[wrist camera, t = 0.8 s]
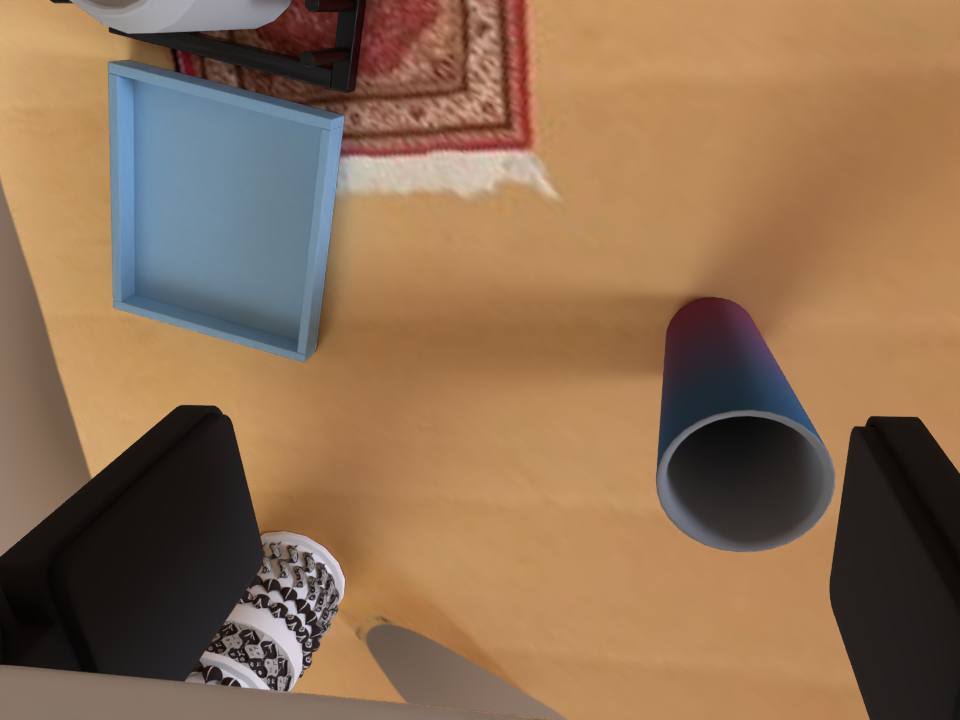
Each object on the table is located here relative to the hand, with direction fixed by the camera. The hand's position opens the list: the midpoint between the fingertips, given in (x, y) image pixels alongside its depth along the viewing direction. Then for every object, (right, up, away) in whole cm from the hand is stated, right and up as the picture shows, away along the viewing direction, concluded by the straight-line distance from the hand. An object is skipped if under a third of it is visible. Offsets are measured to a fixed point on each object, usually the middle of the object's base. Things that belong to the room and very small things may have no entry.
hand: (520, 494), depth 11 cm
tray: (-16, +11, +34) cm, 39 cm away
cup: (+13, +3, +32) cm, 34 cm away
